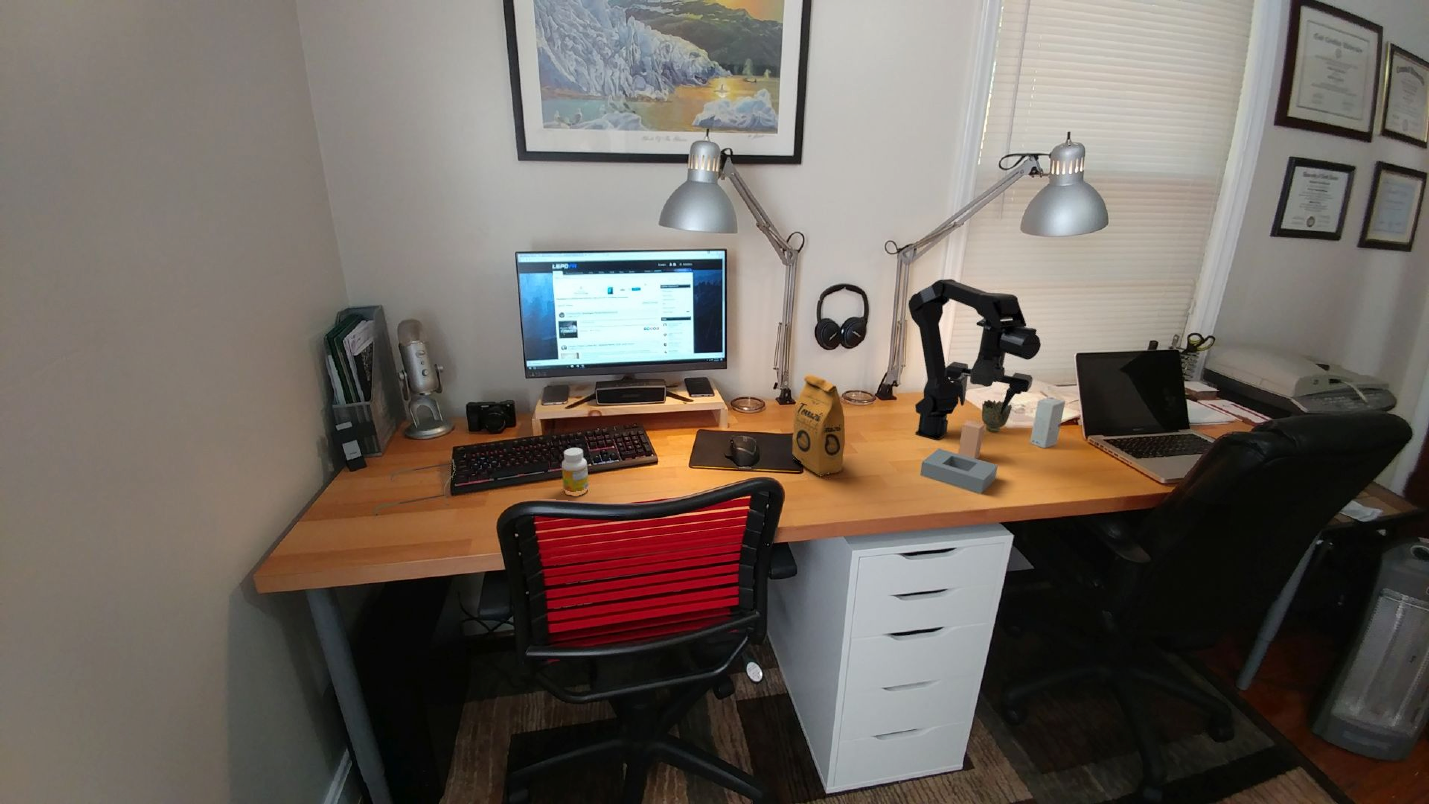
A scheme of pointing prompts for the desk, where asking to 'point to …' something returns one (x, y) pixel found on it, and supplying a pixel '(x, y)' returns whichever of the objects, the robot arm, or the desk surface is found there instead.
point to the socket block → (959, 470)
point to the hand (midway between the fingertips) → (981, 409)
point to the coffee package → (819, 427)
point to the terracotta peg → (971, 439)
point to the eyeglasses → (422, 498)
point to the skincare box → (1047, 422)
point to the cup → (994, 415)
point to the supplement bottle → (574, 470)
